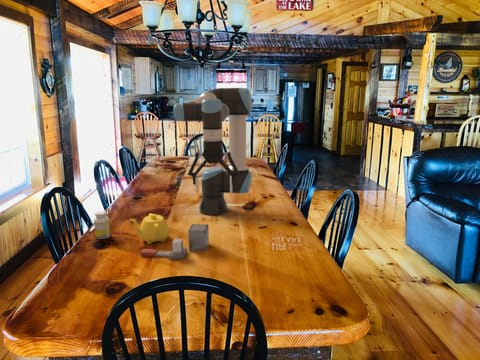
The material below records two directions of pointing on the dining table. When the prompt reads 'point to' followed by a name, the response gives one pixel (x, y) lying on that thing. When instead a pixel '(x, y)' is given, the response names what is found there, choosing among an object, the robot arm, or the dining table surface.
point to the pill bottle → (102, 225)
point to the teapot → (152, 228)
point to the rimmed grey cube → (198, 237)
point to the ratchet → (176, 252)
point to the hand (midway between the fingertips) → (214, 192)
